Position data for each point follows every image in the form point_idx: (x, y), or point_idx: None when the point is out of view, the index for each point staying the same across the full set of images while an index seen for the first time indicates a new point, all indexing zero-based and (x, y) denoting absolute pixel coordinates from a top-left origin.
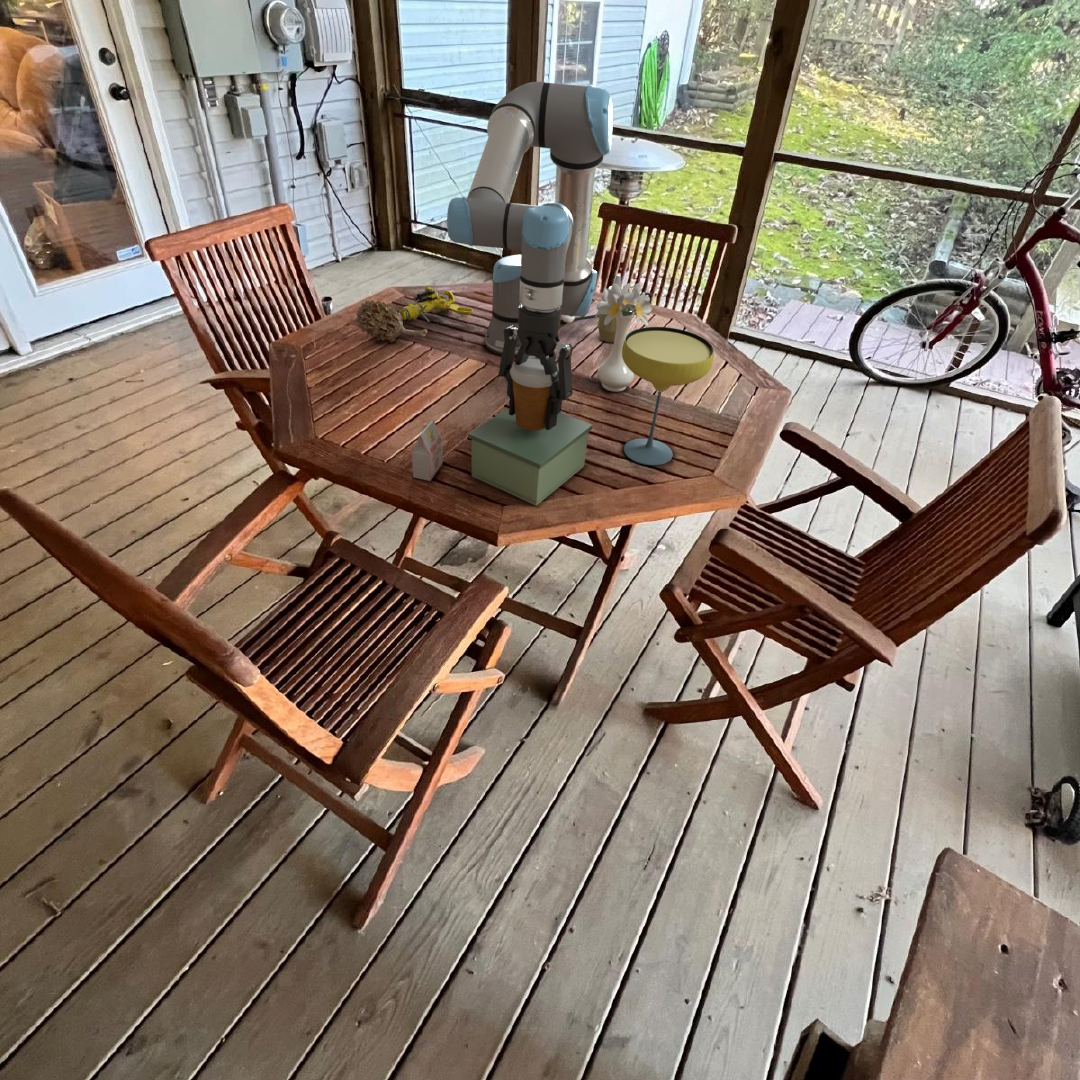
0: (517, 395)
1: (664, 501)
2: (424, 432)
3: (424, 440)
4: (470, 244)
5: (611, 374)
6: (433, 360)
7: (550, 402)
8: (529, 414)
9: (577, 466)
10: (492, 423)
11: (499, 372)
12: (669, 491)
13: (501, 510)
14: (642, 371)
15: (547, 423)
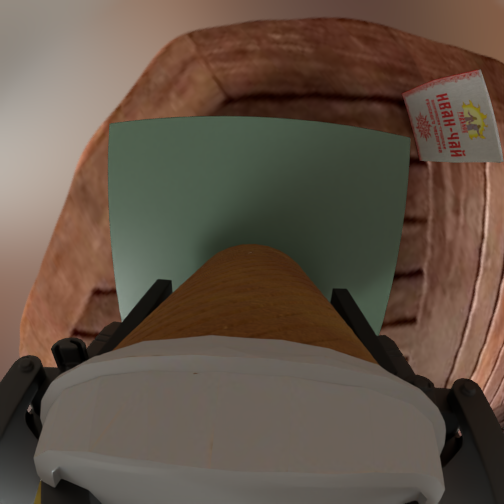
0: (298, 297)
1: (40, 300)
2: (483, 93)
3: (467, 83)
4: None
5: None
6: (499, 391)
7: (106, 346)
8: (211, 265)
9: None
10: (381, 241)
11: (477, 390)
12: (51, 326)
13: (220, 83)
14: (34, 501)
15: (155, 290)
